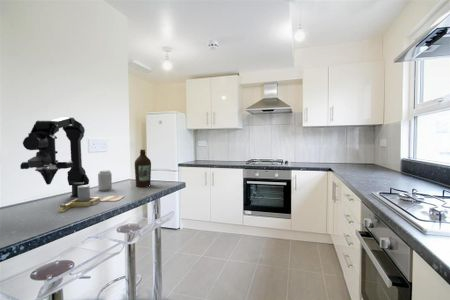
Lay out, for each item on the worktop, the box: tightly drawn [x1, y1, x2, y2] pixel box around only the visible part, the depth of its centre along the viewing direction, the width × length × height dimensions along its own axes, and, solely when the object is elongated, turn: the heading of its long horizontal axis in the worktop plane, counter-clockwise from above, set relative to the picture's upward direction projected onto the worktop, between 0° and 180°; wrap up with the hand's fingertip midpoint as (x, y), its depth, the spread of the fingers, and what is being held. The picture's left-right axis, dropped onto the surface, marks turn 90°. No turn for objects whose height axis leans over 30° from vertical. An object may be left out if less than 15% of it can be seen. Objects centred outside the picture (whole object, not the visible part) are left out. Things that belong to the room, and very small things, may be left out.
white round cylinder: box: [77, 184, 91, 202], centre depth 109 cm, size 5×5×9 cm
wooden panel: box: [99, 195, 125, 202], centre depth 119 cm, size 9×9×1 cm
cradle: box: [69, 196, 101, 206], centre depth 111 cm, size 11×8×2 cm
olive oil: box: [134, 149, 152, 188], centre depth 151 cm, size 11×11×25 cm
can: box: [97, 169, 113, 192], centre depth 141 cm, size 8×8×12 cm
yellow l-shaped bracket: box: [58, 201, 92, 213], centre depth 102 cm, size 9×9×3 cm
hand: (48, 184), depth 98 cm, fingers closed
